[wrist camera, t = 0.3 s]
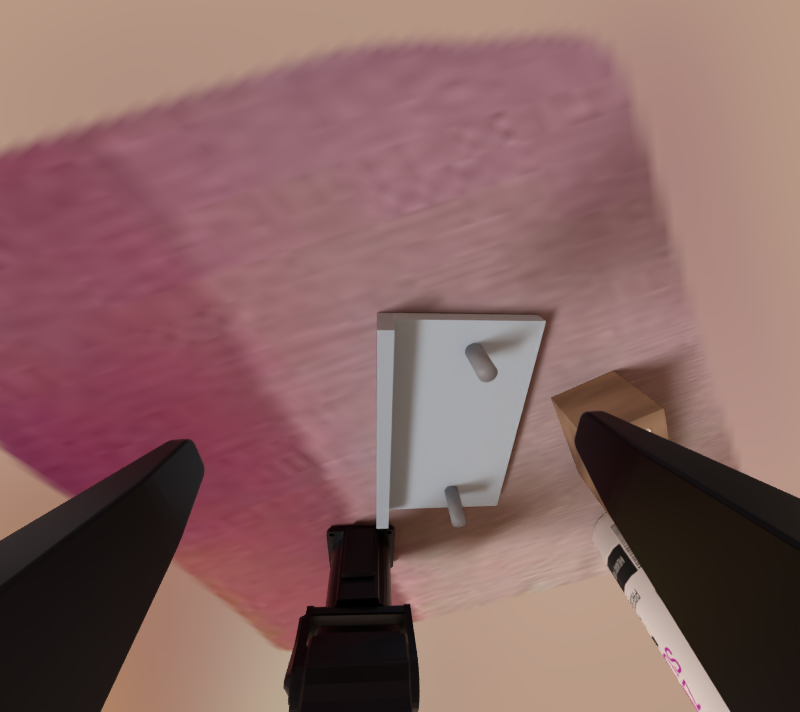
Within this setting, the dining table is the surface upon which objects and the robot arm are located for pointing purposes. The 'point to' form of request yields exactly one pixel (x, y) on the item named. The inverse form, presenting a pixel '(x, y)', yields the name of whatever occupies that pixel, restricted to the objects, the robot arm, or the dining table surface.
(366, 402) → the dining table surface
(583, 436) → the robot arm
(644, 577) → the supplement can
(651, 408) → the brown wooden block
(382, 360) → the ledge
